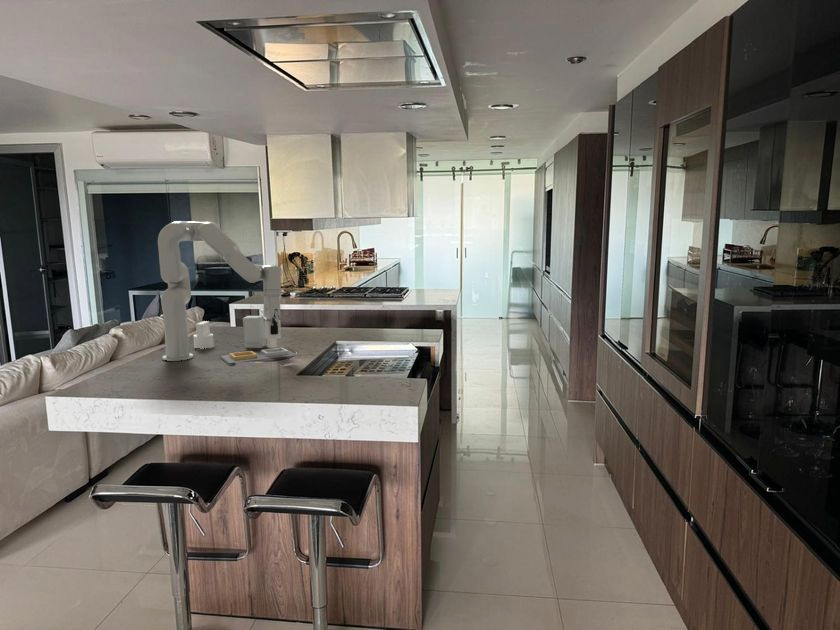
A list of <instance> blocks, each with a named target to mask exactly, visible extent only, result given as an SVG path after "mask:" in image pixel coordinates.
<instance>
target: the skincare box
mask: <svg viewBox="0 0 840 630" xmlns="http://www.w3.org/2000/svg"><path fill="white" fill-rule="evenodd" d="M242 325H243V326H242V327H243V337H244V338H243V339H244V348H245V349H247V348H248V349H262V348H264V347H266V338H265V317H264V315H246V316H245V317H243V318H242Z"/></svg>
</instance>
